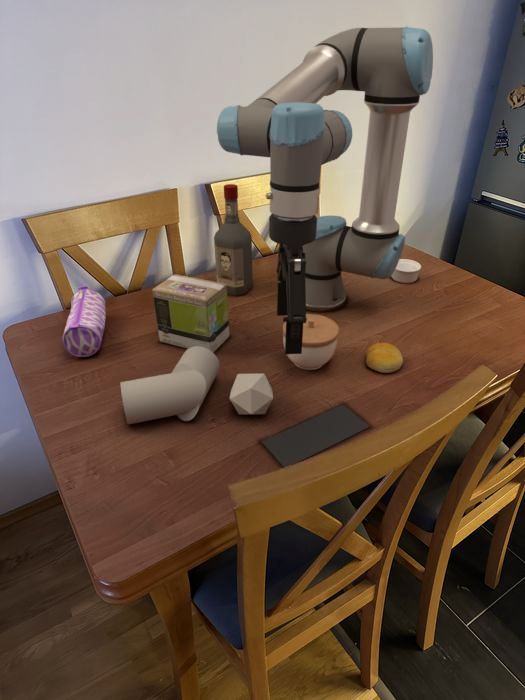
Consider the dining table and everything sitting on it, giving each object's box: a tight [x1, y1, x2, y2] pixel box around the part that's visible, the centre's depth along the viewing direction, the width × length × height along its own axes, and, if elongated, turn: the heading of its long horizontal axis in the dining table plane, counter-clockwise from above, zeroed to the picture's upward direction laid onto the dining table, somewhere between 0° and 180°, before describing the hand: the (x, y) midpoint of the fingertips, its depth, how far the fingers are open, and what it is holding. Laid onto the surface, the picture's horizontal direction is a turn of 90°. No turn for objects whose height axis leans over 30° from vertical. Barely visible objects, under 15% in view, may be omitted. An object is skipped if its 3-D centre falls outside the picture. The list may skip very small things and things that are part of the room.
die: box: [229, 373, 274, 415], centre depth 98 cm, size 8×9×10 cm
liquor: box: [213, 183, 254, 297], centre depth 137 cm, size 9×9×30 cm
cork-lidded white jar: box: [282, 313, 340, 371], centre depth 111 cm, size 13×13×11 cm
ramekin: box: [390, 258, 422, 284], centre depth 150 cm, size 9×9×4 cm
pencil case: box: [62, 285, 107, 358], centre depth 121 cm, size 22×9×9 cm, turn 14°
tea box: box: [151, 273, 230, 353], centre depth 118 cm, size 15×10×15 cm
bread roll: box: [365, 342, 404, 374], centre depth 112 cm, size 8×9×4 cm
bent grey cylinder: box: [120, 346, 221, 425], centre depth 99 cm, size 18×11×20 cm
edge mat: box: [260, 404, 371, 468], centre depth 94 cm, size 20×8×1 cm, turn 122°
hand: (288, 332), depth 87 cm, fingers open, 13 cm apart
